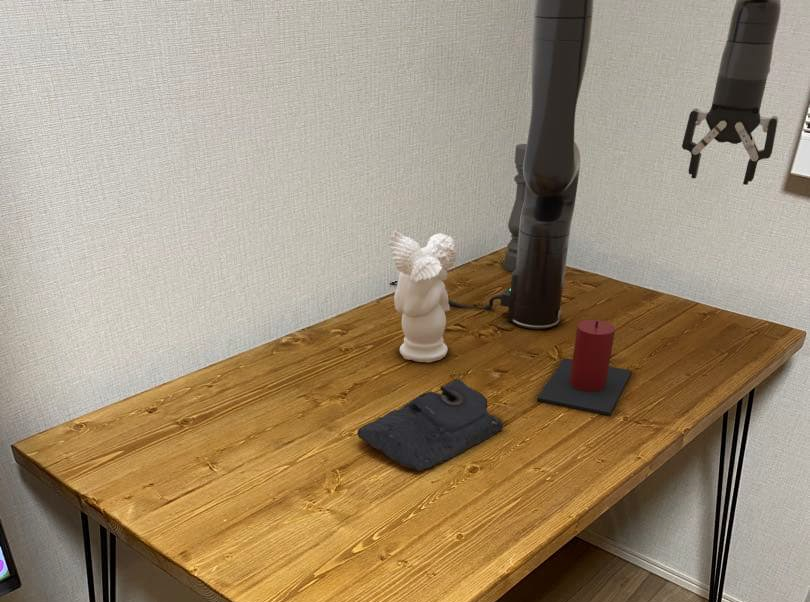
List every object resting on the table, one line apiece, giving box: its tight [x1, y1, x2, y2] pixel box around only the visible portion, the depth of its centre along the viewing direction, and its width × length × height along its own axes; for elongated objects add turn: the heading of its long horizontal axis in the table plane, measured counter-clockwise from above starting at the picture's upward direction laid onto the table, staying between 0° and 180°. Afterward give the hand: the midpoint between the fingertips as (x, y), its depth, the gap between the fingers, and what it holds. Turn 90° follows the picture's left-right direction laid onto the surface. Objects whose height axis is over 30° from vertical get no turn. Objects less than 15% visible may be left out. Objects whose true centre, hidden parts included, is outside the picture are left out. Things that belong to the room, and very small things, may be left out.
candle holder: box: [504, 143, 527, 273], centre depth 188 cm, size 6×6×25 cm
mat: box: [536, 357, 633, 416], centre depth 148 cm, size 12×17×1 cm
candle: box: [570, 319, 616, 392], centre depth 145 cm, size 6×6×11 cm
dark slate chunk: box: [357, 378, 504, 472], centre depth 133 cm, size 15×22×5 cm
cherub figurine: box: [388, 230, 458, 363], centre depth 150 cm, size 12×12×22 cm
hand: (719, 180), depth 150 cm, fingers open, 8 cm apart
